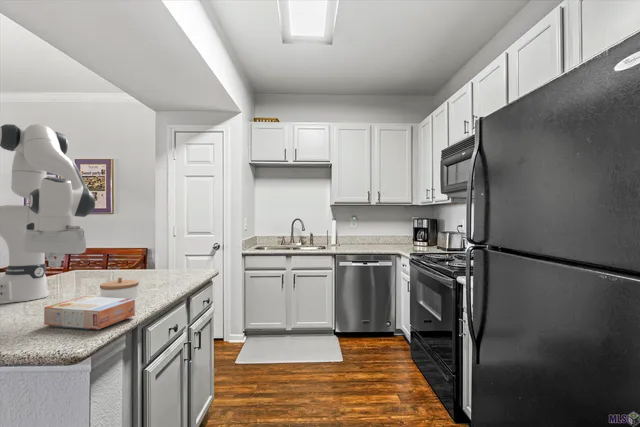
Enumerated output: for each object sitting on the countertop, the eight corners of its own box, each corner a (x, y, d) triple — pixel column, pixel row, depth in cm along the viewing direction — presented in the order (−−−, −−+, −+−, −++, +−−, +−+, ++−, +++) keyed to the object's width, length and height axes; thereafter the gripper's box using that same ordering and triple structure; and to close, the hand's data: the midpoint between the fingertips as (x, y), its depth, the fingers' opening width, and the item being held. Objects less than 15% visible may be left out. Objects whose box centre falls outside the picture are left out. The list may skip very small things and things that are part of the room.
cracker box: (43, 326, 98) (98, 330, 93) (43, 306, 98) (98, 309, 94) (85, 312, 112) (136, 316, 107) (85, 295, 112) (135, 298, 107)
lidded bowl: (90, 311, 115) (91, 280, 115) (114, 302, 128) (115, 274, 128) (124, 311, 115) (125, 281, 115) (145, 302, 127) (145, 275, 127)
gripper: (91, 225, 108) (90, 266, 108) (38, 224, 111) (37, 264, 111) (75, 226, 102) (74, 269, 102) (19, 225, 104) (18, 266, 104)
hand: (54, 266), depth 106 cm, fingers closed
